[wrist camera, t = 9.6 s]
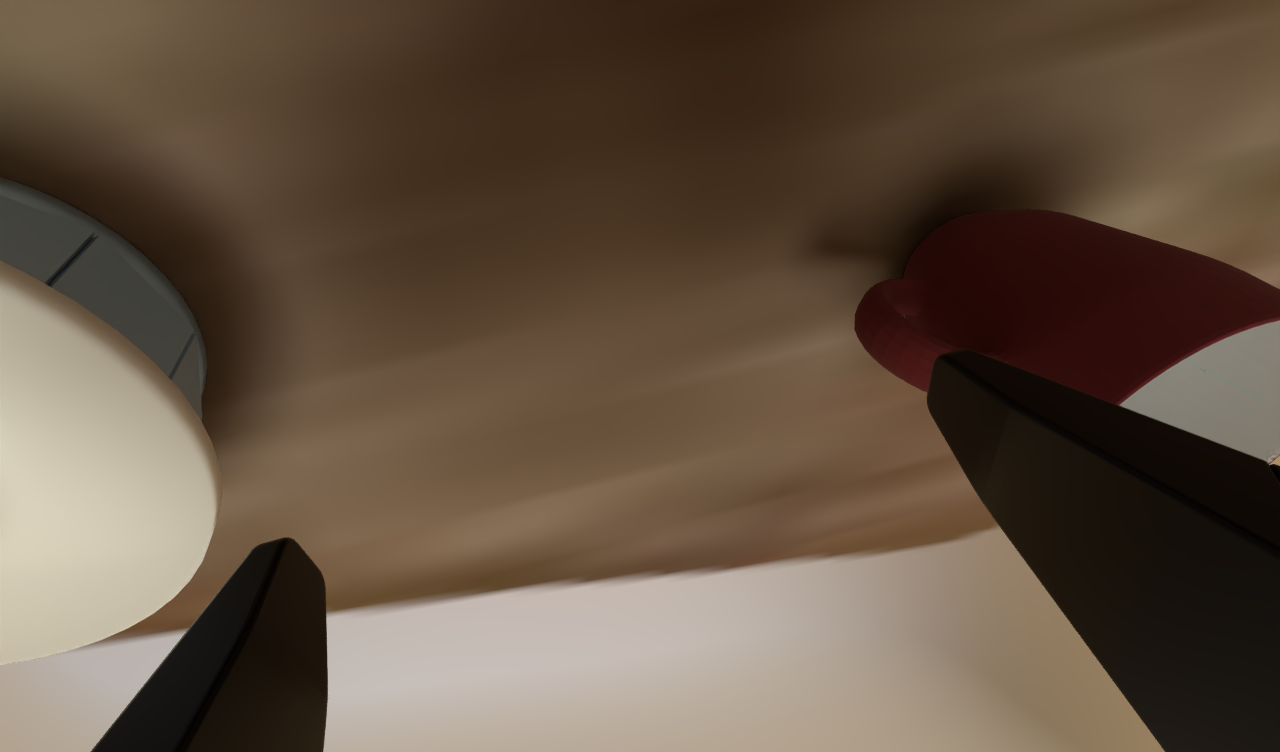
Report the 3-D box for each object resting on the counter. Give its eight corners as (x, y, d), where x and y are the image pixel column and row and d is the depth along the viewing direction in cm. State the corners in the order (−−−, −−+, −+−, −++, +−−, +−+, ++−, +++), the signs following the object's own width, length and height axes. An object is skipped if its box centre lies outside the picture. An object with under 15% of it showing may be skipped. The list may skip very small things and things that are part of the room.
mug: (769, 366, 25) (912, 586, 17) (816, 159, 20) (1044, 339, 12) (1000, 343, 27) (1216, 528, 20) (1093, 152, 22) (1429, 299, 15)
